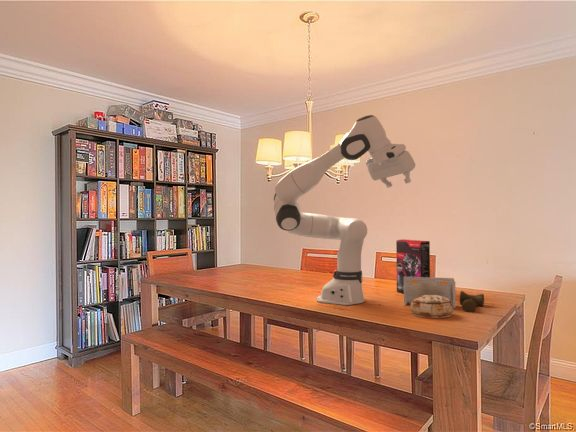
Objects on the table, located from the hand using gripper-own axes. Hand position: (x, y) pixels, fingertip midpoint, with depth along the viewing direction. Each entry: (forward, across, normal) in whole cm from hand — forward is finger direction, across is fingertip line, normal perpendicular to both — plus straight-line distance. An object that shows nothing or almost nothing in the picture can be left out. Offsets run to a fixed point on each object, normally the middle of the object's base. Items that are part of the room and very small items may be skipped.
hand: (399, 184), depth 146 cm
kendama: (+65, +1, +4) cm, 65 cm away
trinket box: (+52, -1, -17) cm, 54 cm away
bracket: (+57, -11, -6) cm, 58 cm away
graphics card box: (+61, -30, +5) cm, 68 cm away
